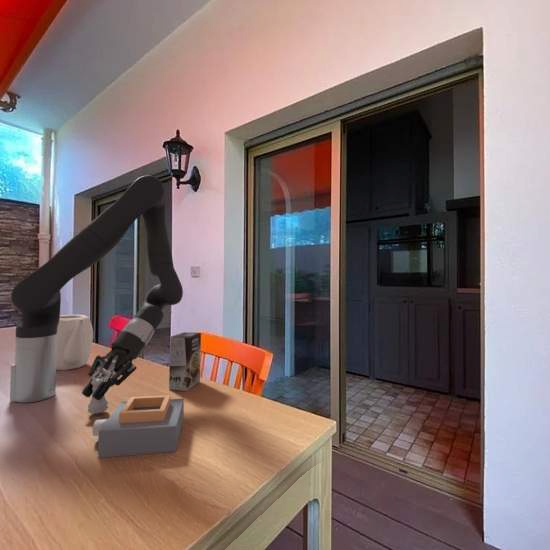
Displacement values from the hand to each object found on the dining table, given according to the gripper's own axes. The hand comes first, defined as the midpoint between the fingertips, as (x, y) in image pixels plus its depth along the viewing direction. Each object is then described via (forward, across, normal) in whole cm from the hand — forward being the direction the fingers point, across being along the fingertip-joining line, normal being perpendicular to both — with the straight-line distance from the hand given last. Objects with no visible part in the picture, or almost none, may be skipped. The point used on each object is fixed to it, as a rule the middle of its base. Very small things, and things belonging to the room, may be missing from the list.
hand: (90, 396), depth 76 cm
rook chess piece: (+2, 0, +4) cm, 5 cm away
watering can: (-12, -45, +20) cm, 51 cm away
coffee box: (-16, +5, +23) cm, 29 cm away
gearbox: (+4, +18, +2) cm, 19 cm away
